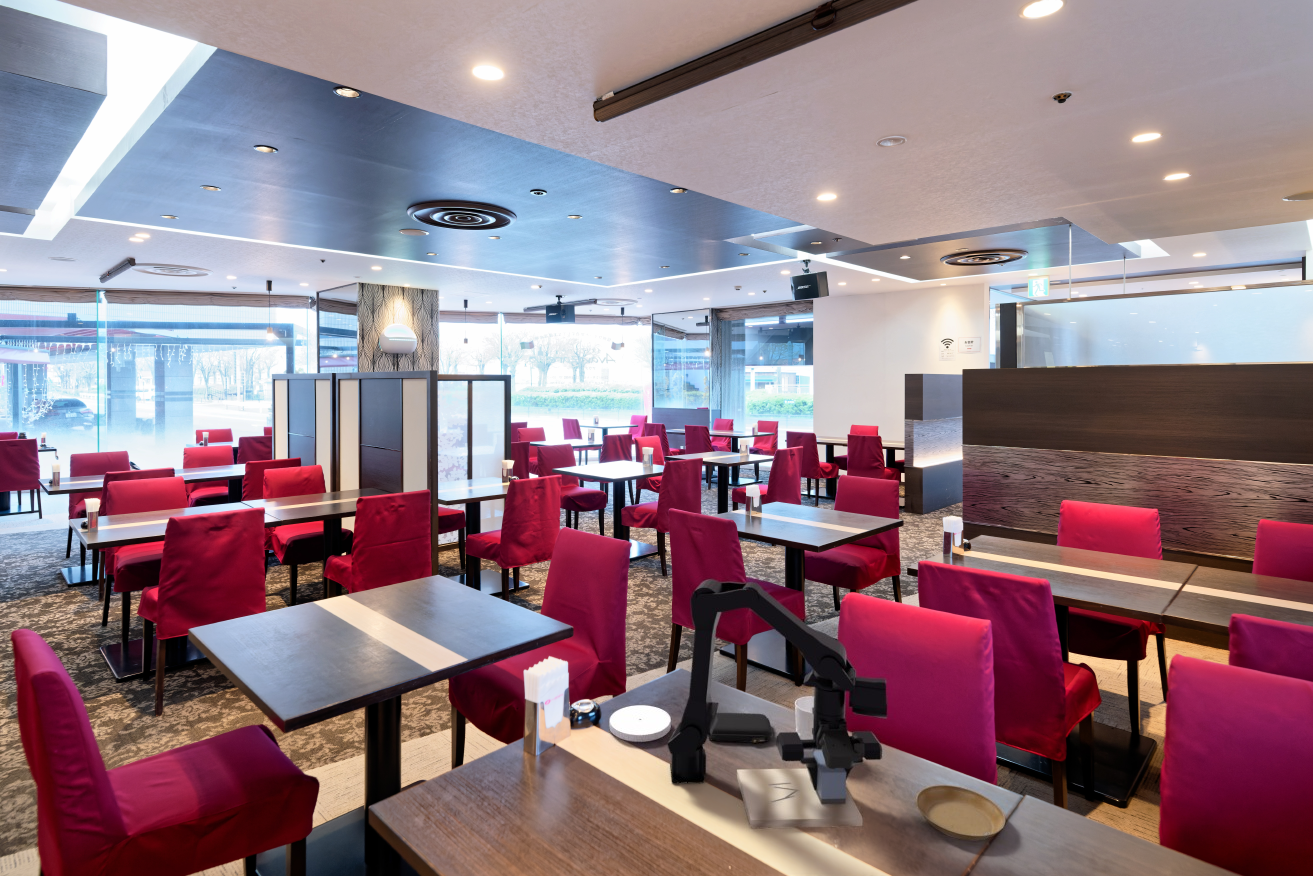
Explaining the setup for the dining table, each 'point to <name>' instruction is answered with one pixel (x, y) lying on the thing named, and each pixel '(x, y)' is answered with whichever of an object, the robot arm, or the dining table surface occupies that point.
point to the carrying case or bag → (742, 727)
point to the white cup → (804, 717)
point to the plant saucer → (960, 812)
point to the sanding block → (829, 782)
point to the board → (790, 801)
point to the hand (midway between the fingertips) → (827, 788)
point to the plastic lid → (640, 723)
